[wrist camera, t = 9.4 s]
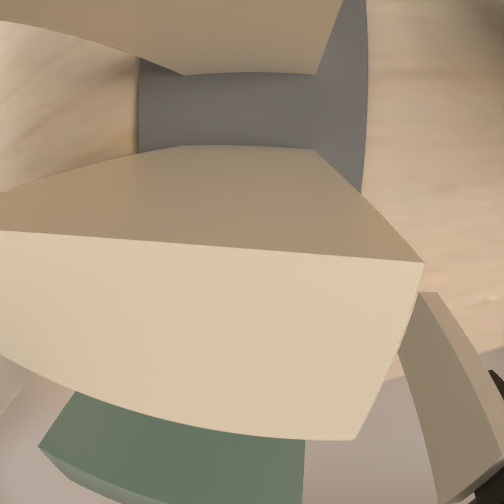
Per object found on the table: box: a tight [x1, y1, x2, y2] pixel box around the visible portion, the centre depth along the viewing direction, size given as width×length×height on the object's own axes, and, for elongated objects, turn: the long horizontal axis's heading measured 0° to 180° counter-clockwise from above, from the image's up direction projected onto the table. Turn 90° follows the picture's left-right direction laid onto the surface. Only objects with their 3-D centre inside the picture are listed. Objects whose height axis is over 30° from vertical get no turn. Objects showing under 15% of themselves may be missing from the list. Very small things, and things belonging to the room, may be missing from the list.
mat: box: [138, 0, 368, 194], centre depth 9 cm, size 26×9×1 cm, turn 178°
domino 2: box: [0, 145, 424, 440], centre depth 6 cm, size 2×5×10 cm, turn 88°
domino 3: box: [38, 391, 305, 504], centre depth 8 cm, size 2×5×10 cm, turn 89°
